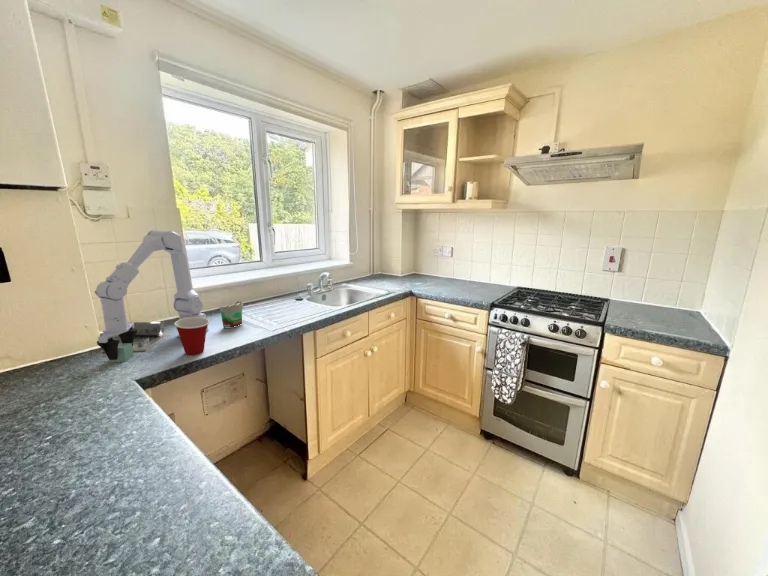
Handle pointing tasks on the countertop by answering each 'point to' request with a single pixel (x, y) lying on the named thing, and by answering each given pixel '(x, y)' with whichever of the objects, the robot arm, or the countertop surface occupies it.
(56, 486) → the countertop surface
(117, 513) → the countertop surface
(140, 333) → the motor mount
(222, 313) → the food container
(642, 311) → the countertop surface
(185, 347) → the plastic cup
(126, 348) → the pump block
